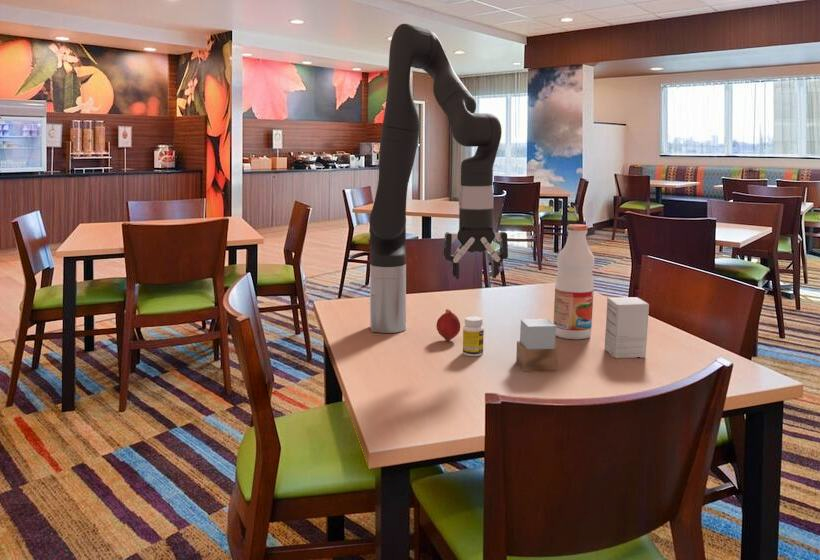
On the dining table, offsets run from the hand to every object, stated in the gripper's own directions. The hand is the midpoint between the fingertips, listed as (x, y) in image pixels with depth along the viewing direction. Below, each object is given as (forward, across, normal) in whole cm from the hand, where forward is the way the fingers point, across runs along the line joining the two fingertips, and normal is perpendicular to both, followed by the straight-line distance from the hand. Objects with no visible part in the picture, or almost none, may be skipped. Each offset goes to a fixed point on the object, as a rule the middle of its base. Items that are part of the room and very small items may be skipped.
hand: (475, 278), depth 151 cm
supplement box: (+18, +35, -3) cm, 39 cm away
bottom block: (+18, +12, -10) cm, 24 cm away
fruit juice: (+18, +28, +13) cm, 35 cm away
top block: (+13, +12, -10) cm, 20 cm away
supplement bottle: (+18, 0, 0) cm, 18 cm away
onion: (+18, -4, +11) cm, 21 cm away
